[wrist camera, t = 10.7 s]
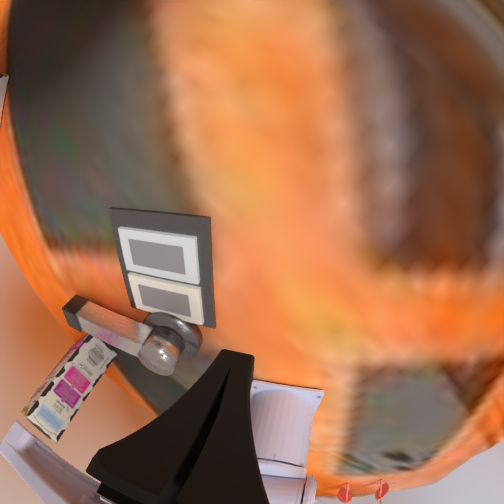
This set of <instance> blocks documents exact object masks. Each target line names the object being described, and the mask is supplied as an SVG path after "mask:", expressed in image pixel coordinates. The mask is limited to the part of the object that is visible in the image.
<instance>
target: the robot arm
mask: <svg viewBox="0 0 504 504" xmlns="http://www.w3.org/2000/svg"><path fill="white" fill-rule="evenodd" d="M253 371H254V356H253V355H250V354H245V353H240V352H235V351H230V350H226V349H223V350H221V351H220V353H219V354H218V356H217V357H216V359H215V360H214V361H213V363H212V364H211V365H210V367H209V368H208V369H207V370H206V371H205V373H204V374H203V375H202V376H201V377H200V378H199V379H198V381H197V382H196V383H195V384H194V385H193V386H192V387H191V388H190V389H189V390H188V391H187V392H186V393H185V394H184V395H183V396H182V397H181V398H180V399H179V400H178V401H177V402H176V403H174V404H173V405H172V406H171V407H170V408H169V409H167V410H166V411H165V412H164V413H162V414H161V415H160V416H158V417H157V418H156V419H154V420H153V421H151V422H150V423H149V424H147V425H146V426H144V427H142V428H141V429H139V430H137V431H136V432H134V433H132V434H130V435H129V436H127V437H125V438H123V439H121V440H119V441H117V442H115V443H113V444H110V445H108V446H106V447H103V448H101V449H99V450H98V452H97V453H96V454H95V455H94V457H93V458H92V460H91V462H90V464H89V465H88V467H87V469H86V472H87V473H88V474H89V475H91V476H92V477H94V478H96V479H97V480H99V481H100V482H101V484H100V483H98V482H96V481H95V480H93V479H92V478H90V477H88V476H87V475H85V474H84V473H82V472H81V471H79V470H78V469H76V468H75V467H74V466H72V465H70V464H69V463H68V462H66V461H65V460H64V459H62V458H61V457H60V456H58V455H57V454H56V453H54V452H53V450H52V449H51V448H50V447H48V446H47V445H46V444H44V443H43V442H42V441H41V440H40V439H39V438H37V437H36V436H35V435H33V434H32V433H31V432H29V431H28V430H27V429H26V428H25V427H24V426H23V425H22V424H20V423H19V422H18V421H17V420H16V421H15V422H14V424H13V425H12V427H11V428H10V430H9V431H8V433H7V434H6V436H5V438H4V439H3V441H2V442H1V444H0V453H1V454H2V455H3V456H4V457H5V459H6V460H7V461H8V462H9V463H10V464H11V466H12V467H13V468H14V469H15V470H16V471H17V473H18V474H19V475H20V476H21V478H22V479H23V480H24V481H25V482H26V484H27V485H28V486H29V487H30V488H31V489H32V490H33V492H35V494H36V495H37V496H38V497H39V498H40V499H41V500H42V502H43V503H44V504H109V503H106V502H104V501H102V500H100V497H101V498H103V499H105V500H107V501H108V502H110V503H112V504H314V500H315V494H316V486H317V480H316V479H315V478H313V475H307V477H306V482H305V484H304V481H305V475H306V469H307V468H306V462H307V456H308V450H309V443H310V436H311V428H312V420H313V415H314V413H315V412H316V410H317V408H318V406H319V404H320V402H321V400H322V398H323V396H324V391H323V390H319V389H310V388H302V387H295V386H288V385H282V384H276V383H270V382H264V381H259V380H253ZM303 487H304V489H303Z"/></svg>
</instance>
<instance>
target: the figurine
mask: <svg viewBox="0 0 504 504" xmlns="http://www.w3.org/2000/svg"><path fill="white" fill-rule="evenodd" d="M382 481H383V480H381V481H380V488H379V489H378V490H377V491H376V494H375V498H376V499H380V504H381V498H383V497H384V496H385V495H386V494H387V493H388V491H389V486H388V484H387V483H384V484H383V485H382ZM393 484H394V483H393ZM390 485H391V484H390ZM348 488H349V483H347V488H346V490H345V488H341V489H340V491H339V492H338V498H339V500H340V501H341V502H343V503H345V504H346V503H347V502H350V501H351V498H352V494H351V492H350V491H351V490H348ZM376 488H378V487H376ZM370 489H373V488H370ZM361 490H367V489H361Z"/></svg>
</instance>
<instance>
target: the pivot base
mask: <svg viewBox="0 0 504 504" xmlns="http://www.w3.org/2000/svg"><path fill="white" fill-rule="evenodd" d="M143 324H145V325H148V326H150V327H153V328H157V327H163V328H167V329H169V330H171V331H173V332H175V333H176V334H177V335H179V336H180V337H181V339H182V340H183V341H184V343H185V350H184V352H183V354H182V356H181V358H180V359H188V358H192V357H194V356H195V355H196V354H197V352H198V350H199V348H200V346H201V344H202V334H201V331H200V330H199V328H198V326H197V325H196V324H192V323H190V322H186V321H183V320H181V319H180V318H178V317H176V316H174V315H172V314H169V313H165V312H153V313H151V312H150V313H149V315H148V316H147V317H146V319H145V320H144V323H143Z"/></svg>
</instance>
